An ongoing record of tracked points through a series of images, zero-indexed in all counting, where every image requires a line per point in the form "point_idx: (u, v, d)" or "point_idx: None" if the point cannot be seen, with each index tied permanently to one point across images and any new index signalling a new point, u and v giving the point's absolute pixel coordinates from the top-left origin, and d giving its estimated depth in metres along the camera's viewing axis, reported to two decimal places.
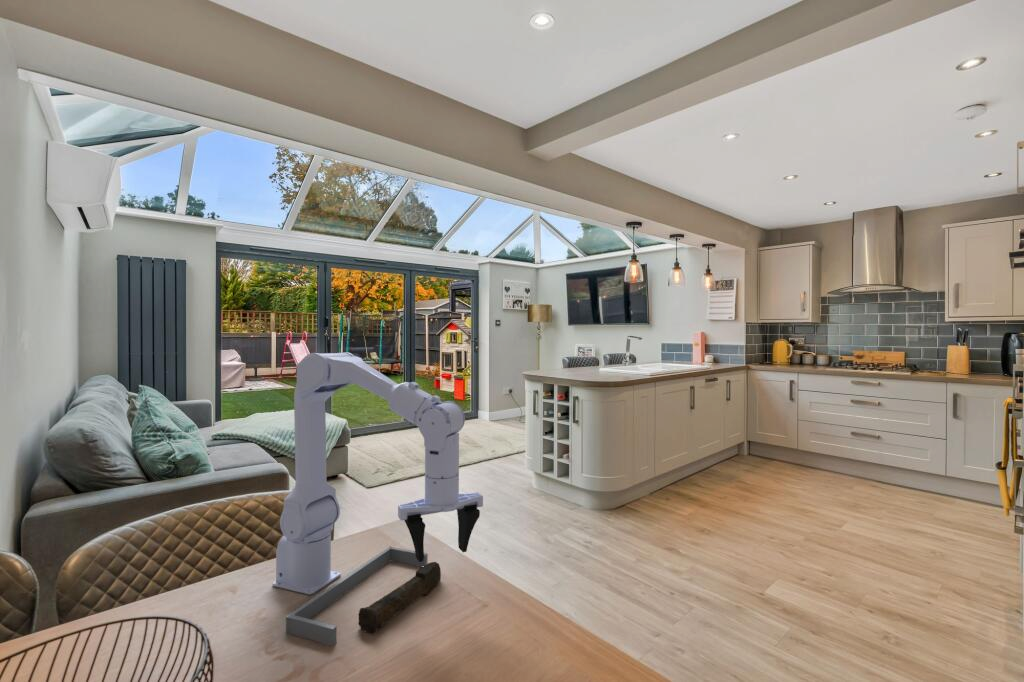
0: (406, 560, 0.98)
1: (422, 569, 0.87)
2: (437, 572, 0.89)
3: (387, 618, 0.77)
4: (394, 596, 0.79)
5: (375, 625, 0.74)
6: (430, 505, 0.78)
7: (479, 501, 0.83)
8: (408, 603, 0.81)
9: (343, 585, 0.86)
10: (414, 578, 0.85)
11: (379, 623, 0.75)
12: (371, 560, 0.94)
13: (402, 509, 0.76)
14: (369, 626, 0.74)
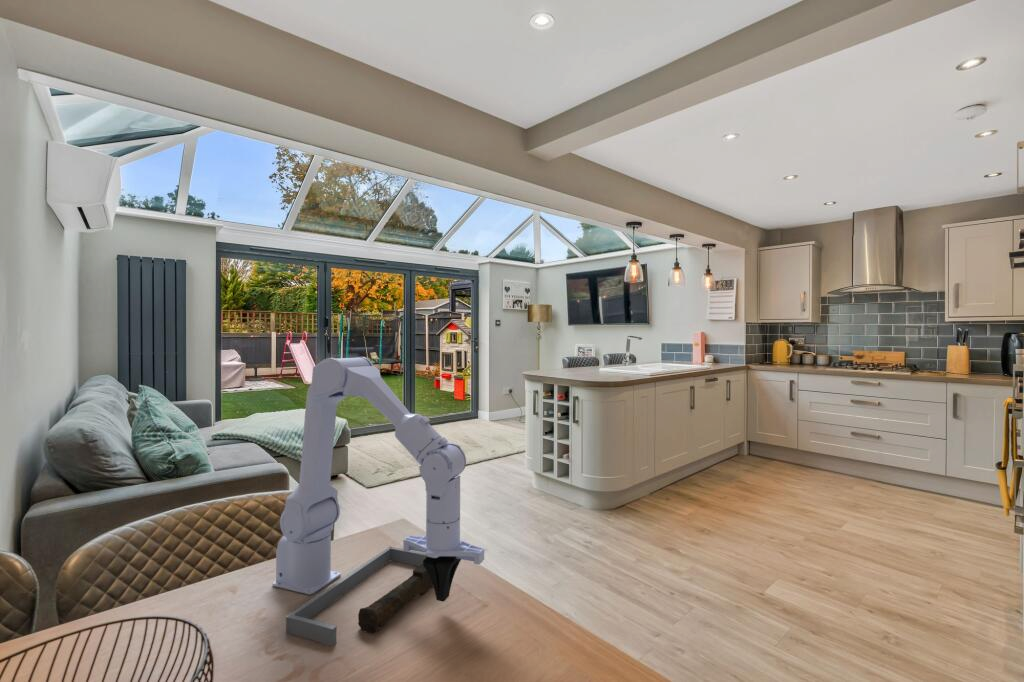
0: (406, 560, 0.98)
1: (419, 568, 0.87)
2: None
3: (387, 617, 0.77)
4: (393, 595, 0.79)
5: (376, 625, 0.74)
6: (424, 545, 0.80)
7: (475, 557, 0.77)
8: (407, 602, 0.81)
9: (343, 585, 0.86)
10: (411, 577, 0.86)
11: (379, 622, 0.75)
12: (371, 560, 0.94)
13: (404, 540, 0.82)
14: (370, 626, 0.74)
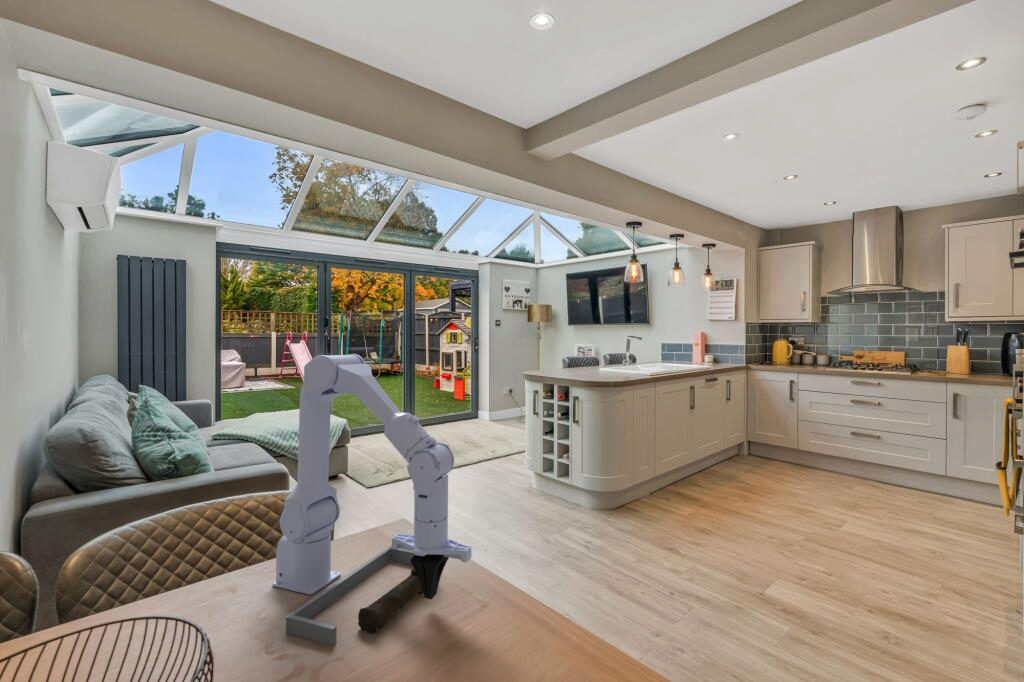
0: (406, 560, 0.98)
1: None
2: None
3: (387, 617, 0.77)
4: (393, 595, 0.79)
5: (376, 624, 0.74)
6: (412, 543, 0.81)
7: (462, 556, 0.78)
8: (406, 601, 0.82)
9: (343, 585, 0.86)
10: (410, 577, 0.86)
11: (380, 622, 0.75)
12: (371, 560, 0.94)
13: (392, 539, 0.83)
14: (370, 626, 0.74)
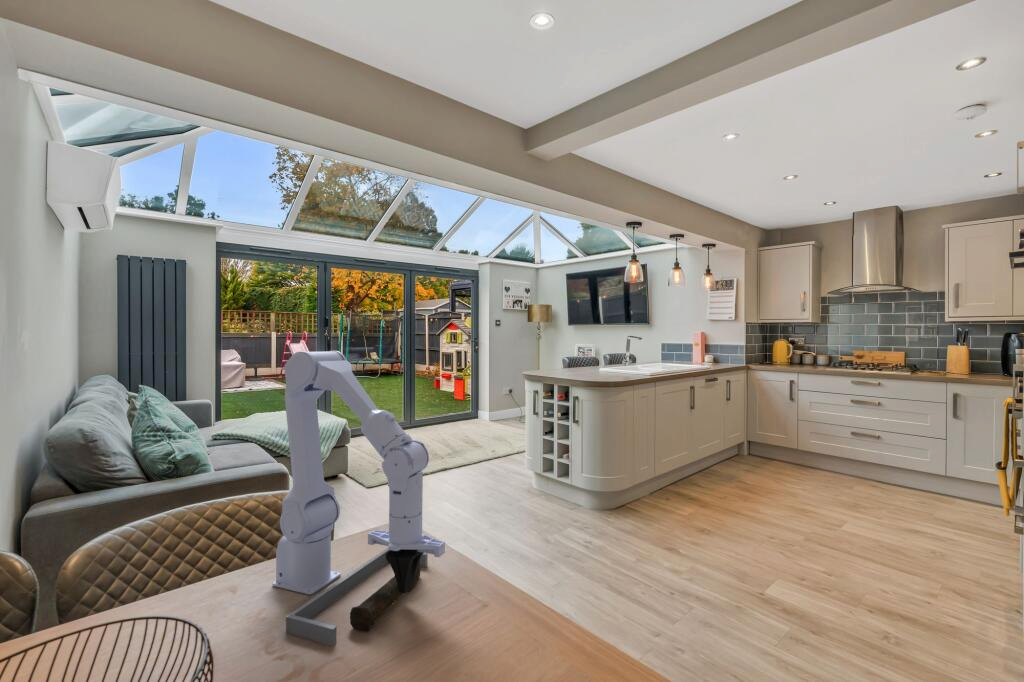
0: None
1: None
2: (418, 567, 0.91)
3: (379, 615, 0.77)
4: (383, 593, 0.80)
5: (369, 622, 0.74)
6: (387, 539, 0.82)
7: (435, 551, 0.80)
8: (396, 599, 0.82)
9: (343, 585, 0.86)
10: None
11: (372, 620, 0.76)
12: (371, 560, 0.94)
13: (368, 534, 0.85)
14: (363, 624, 0.74)
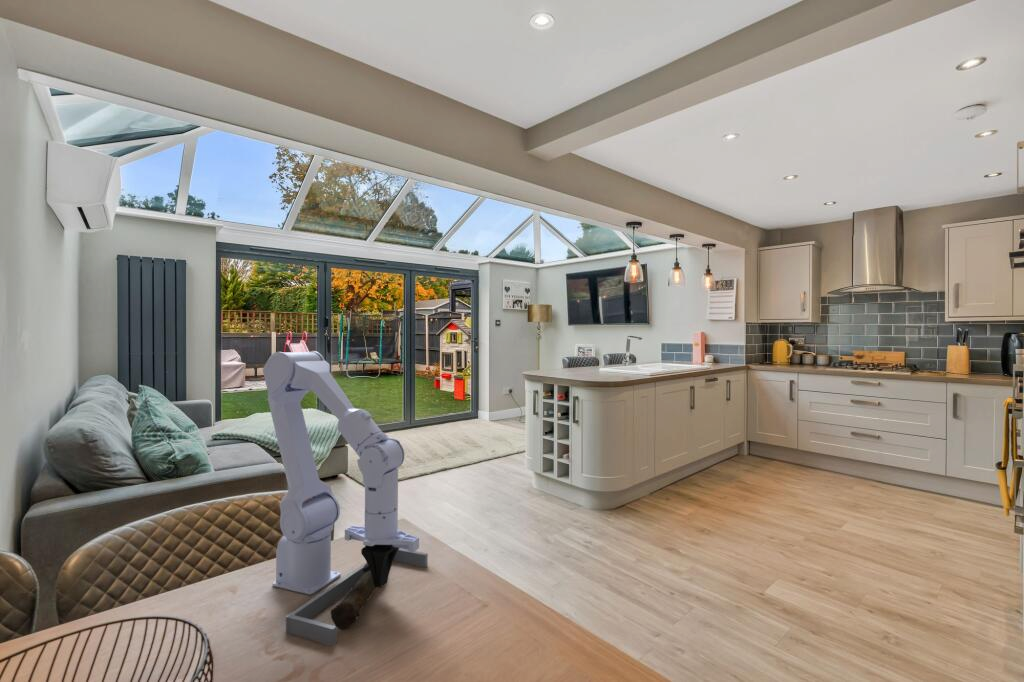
0: (406, 560, 0.98)
1: (367, 564, 0.89)
2: None
3: (361, 605, 0.78)
4: (356, 587, 0.80)
5: (353, 612, 0.75)
6: (363, 534, 0.84)
7: (409, 546, 0.82)
8: (371, 590, 0.83)
9: (343, 585, 0.86)
10: (364, 573, 0.87)
11: (356, 610, 0.76)
12: None
13: (345, 530, 0.86)
14: (349, 617, 0.75)
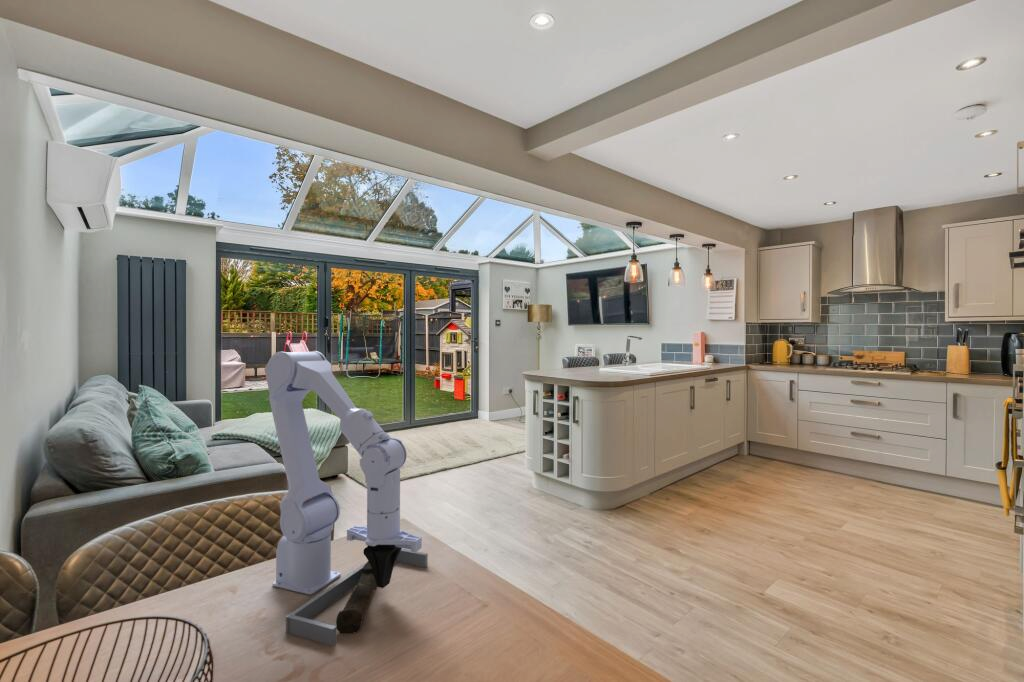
0: (406, 560, 0.98)
1: (368, 565, 0.88)
2: None
3: (363, 614, 0.78)
4: (362, 593, 0.80)
5: (360, 622, 0.75)
6: (365, 534, 0.84)
7: (412, 546, 0.81)
8: (370, 598, 0.83)
9: (343, 585, 0.86)
10: (365, 575, 0.86)
11: None
12: None
13: (347, 530, 0.86)
14: (354, 625, 0.74)
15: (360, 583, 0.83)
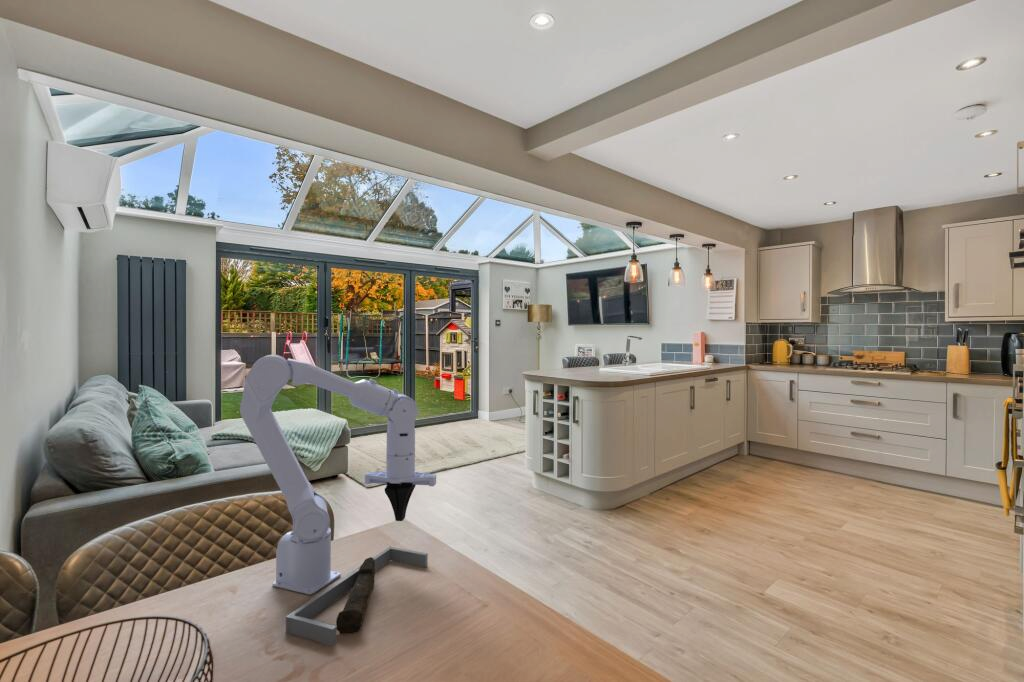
0: (406, 560, 0.98)
1: (364, 566, 0.88)
2: (374, 566, 0.91)
3: None
4: (361, 593, 0.80)
5: (361, 622, 0.75)
6: (385, 476, 0.96)
7: (430, 481, 0.96)
8: (368, 598, 0.83)
9: (343, 585, 0.86)
10: (362, 575, 0.86)
11: None
12: None
13: (365, 475, 0.97)
14: (354, 625, 0.74)
15: (358, 583, 0.83)
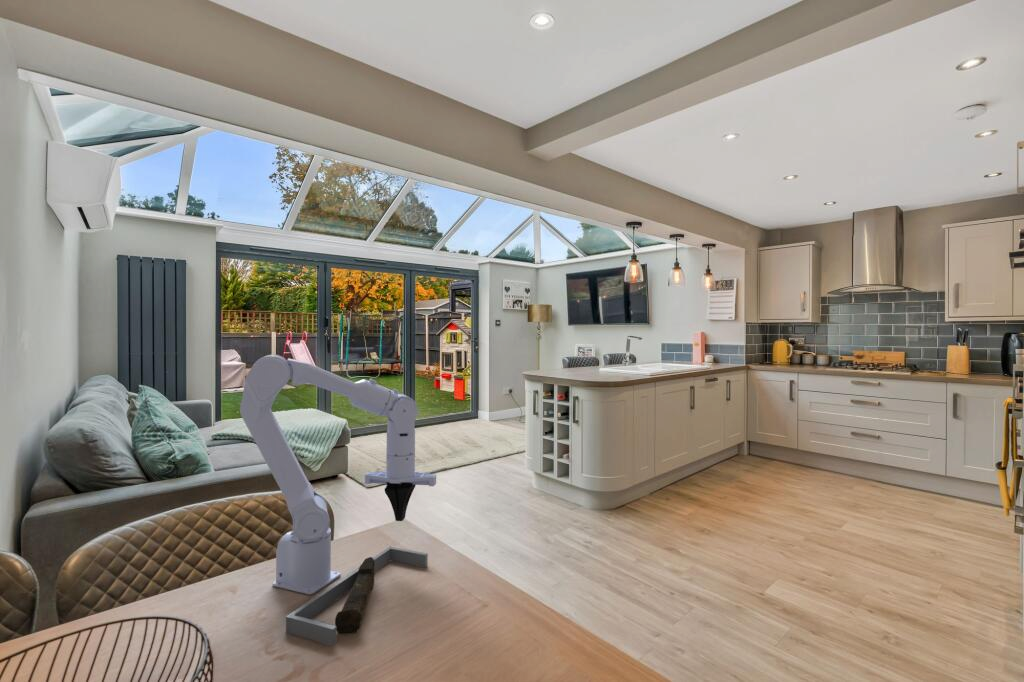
0: (406, 560, 0.98)
1: (364, 566, 0.88)
2: None
3: (361, 614, 0.78)
4: (360, 593, 0.80)
5: (359, 622, 0.75)
6: (385, 476, 0.96)
7: (430, 481, 0.96)
8: (367, 598, 0.83)
9: (343, 585, 0.86)
10: (361, 575, 0.86)
11: None
12: None
13: (365, 475, 0.97)
14: (353, 625, 0.74)
15: (357, 583, 0.83)
